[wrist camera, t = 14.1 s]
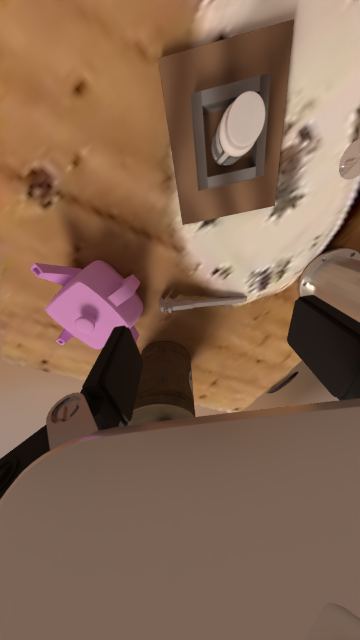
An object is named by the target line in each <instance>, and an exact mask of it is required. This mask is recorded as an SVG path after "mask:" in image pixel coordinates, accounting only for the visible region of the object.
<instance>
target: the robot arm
mask: <svg viewBox="0 0 360 640" xmlns="http://www.w3.org/2000/svg"><path fill="white" fill-rule="evenodd" d="M298 292H299V295H300V297H299V298H298V300H296V301H295V305H294V309H293V314H292V319H291V323H290V328H289V333H288V337H287V341H288V344H289V345H290V346H291V347H292V349H293V350H294V351H295V352H296V353H297V354H298V356H299V357H300V358H301V359H302V360H303V361H304V363H305V364H306V365H307V366H308V367H309V369H310V370H311V371H312V372H313V373H314V374H315V375H316V377H317V378H318V379H319V380H320V381H321V383H322V384H323V385H324V386H325V387H326V388H327V390H328V391H329V392H330V393H331V394H332V395H333V396H334V397H337V398H338V399H339V400H340V401H332V402H322V403H314V404H304V405H295V406H286V407H277V408H269V409H260V410H251V411H243V412H234V413H225V414H217V415H209V416H200V417H192V418H184V419H175V420H167V421H159V422H151V423H144V424H137V425H129V426H127V425H128V422H129V421H131V419H132V415H133V410H134V406H135V401H136V396H137V392H138V387H139V382H140V378H141V373H142V368H143V359H142V357H141V355H140V352H139V350H138V347H137V345H136V343H135V340H134V338H133V336H132V333H131V331H130V329H129V328H128V327H127V328H126V326H118V327H114V328H113V330H112V332H111V334H110V336H109V338H108V340H107V341H106V343H105V345H104V347H103V349H102V351H101V353H100V355H99V356H98V358H97V360H96V362H95V364H94V366H93V368H92V370H91V371H90V373H89V375H88V377H87V379H86V381H85V383H84V385H83V386H82V387H83V389H82V390H81V392H80V393H72V394H69V395H67V396H65V397H63V398H62V399H61V400H59V401H58V402H57V403H56V404H55V405H54V406H53V407H52V409H51V410H50V411H49V413H48V416H47V419H46V425H45V426H44V427H42V428H41V429H40V430H38V431H37V432H36V433H34V434H33V435H32V436H30V437H29V438H28V439H26V440H25V441H24V442H22V443H21V444H20V445H18V446H17V447H16V448H14V449H13V450H12V451H10V452H9V453H8V454H6V455H5V456H4V457H2V458H1V459H0V640H360V253H358V252H357V251H355V250H353V249H348V248H337V249H333V250H330V251H327V252H325V253H323V254H321V255H320V256H318V257H317V258H316V259H314V260H313V261H312V262H311V263H310V264H309V265H308V266H307V268H306V269H305V270H304V272H303V273H302V275H301V277H300V280H299V283H298Z"/></svg>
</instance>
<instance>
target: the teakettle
mask: <svg viewBox="0 0 360 640" xmlns="http://www.w3.org/2000/svg"><path fill="white" fill-rule="evenodd" d="M30 269H31V270H32V271H33V272H34V274H35V275H36V276H37V277H38V278H43V279H46V280H49V281H52V282H55V283H58V284H61V285H63V286H64V287H63V288H62V289H61V290H60V291H59V292H58V293H57V294H56V295H55V296H54V297H53V299H52V300H51V301H50V303H49V304H48V306H47V307H46V312H47V313H48V314H49V315H50V316H51V317H52V318H53V319H54V320H55V321H56V322H57V323H58V324H60V325H61V326H62V327H63V328H64V330H63V331H62V333H61V334H60V336H59V337H58V339H57V340H56V342H57V343H59V344H60V345H63V344H64V343H66V342H67V341H68V340H69V339H71V338H72V337H74V336H75V337H77V338H78V339H79V340H81V341H82V342H84V343H85V344H87V345H89V346H90V347H92V348H94V349H100V348H102V347H104V345H105V343H106V341H107V340H108V338H109V336H110V334H111V332H112V330H113V328H114V327H118V326H126V328H127V327H128V328H129V329H130V331H131V333H132V336H133V338H134V340H135V343H136V341H137V339H138V336H139V334H138V332H137V330H136V328H135V326H134V324H135V323H136V322H137V320H138V319H139V317H140V316H141V314H142V312H143V308H144V307H143V303H142V301H141V299H140V297H139V296H138V295H137V293H136V292H135V291H136V290H137V288H138V286H139V285H140V282H139V280H138V279H137V278H136V277H135V276H134V274H132V275H130V276H129V277H127V278H125V279H124V278H123V277H122V276H121V275H120V274H119V273H118V272H117V271H116V270H115V269H114V268H113V267H111V266H110V265H109V264H108V263H106V262H105V261H102V260H96V261H94V262H92V263H91V264H89V265H88V266H87V267H85V268H84V269H83V270H82V269H81V268H73V267H65V266H56V265H48V264H39V263H35V264H34V265H33V266H32V267H31V268H30Z"/></svg>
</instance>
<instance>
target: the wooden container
mask: <svg viewBox="0 0 360 640" xmlns="http://www.w3.org/2000/svg"><path fill="white" fill-rule="evenodd" d="M141 357H142V359H143V368H142V373H141V378H140V382H139V387H138V392H137V396H136V401H135V406H134V410H133V415H132V419H131V421H129V422H128V426H129V425H137V424H144V423H151V422H159V421H167V420H175V419H184V418H192V417H195V410H194V397H193V383H192V372H191V364H190V357H189V354H188V352H187V351H186V349H185V348H183V347H182V346H180V345H179V344H176V343H173V342H165V341H163V342H156V343H153V344H151V345H149V346H147V347H146V348H145V349H144V350H143V352H142V353H141Z"/></svg>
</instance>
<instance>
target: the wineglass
mask: <svg viewBox="0 0 360 640" xmlns="http://www.w3.org/2000/svg"><path fill="white" fill-rule="evenodd" d="M339 172H340V174H341V176H342V177H343V178H344V179H353V178H355V177H357V176H358V175H360V139H358V140H356V141H354V142H353V143H352V144H351V145H350V146H349V147H348V148H347V150H346V151H345V152H344V154H343V156H342V158H341V162H340V165H339Z"/></svg>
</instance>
